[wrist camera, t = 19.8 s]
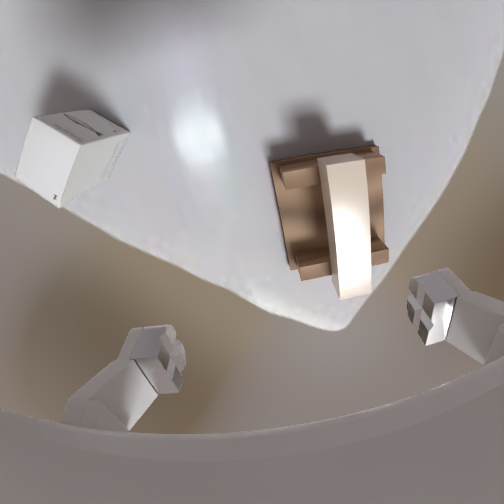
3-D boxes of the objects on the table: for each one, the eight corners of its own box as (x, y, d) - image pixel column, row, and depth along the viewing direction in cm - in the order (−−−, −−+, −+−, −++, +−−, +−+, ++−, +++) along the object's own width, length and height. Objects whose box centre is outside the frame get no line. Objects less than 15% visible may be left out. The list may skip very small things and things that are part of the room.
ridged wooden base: (269, 162, 35) (272, 170, 31) (375, 145, 34) (391, 151, 30) (289, 265, 42) (294, 285, 38) (381, 247, 41) (394, 263, 36)
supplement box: (132, 131, 33) (83, 145, 22) (108, 179, 36) (58, 212, 25) (90, 107, 31) (32, 114, 20) (69, 154, 34) (12, 179, 23)
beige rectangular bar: (317, 158, 30) (326, 165, 27) (351, 153, 30) (364, 159, 26) (332, 281, 38) (340, 299, 34) (361, 275, 37) (371, 292, 34)
